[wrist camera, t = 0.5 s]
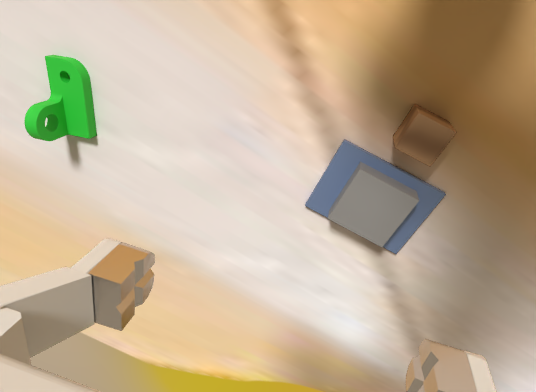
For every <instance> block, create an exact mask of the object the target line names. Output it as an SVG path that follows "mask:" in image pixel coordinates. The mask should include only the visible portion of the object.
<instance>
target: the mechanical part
mask: <svg viewBox="0 0 536 392" xmlns="http://www.w3.org/2000/svg"><path fill="white" fill-rule="evenodd" d="M45 60H46V66H47V71H48V77H49V83H50V89H51V96H50V98H49V100H47V101H44V102H40V103H37V104H34V105H32V106H31V107H30V108H29V109H28V111H27V113H26V116H25V128H26V130H27V132H28V133H29V135H30V136H32V137H33V138H36V139H41V140H46V141H53V140H56V139H58V138H60V137H63V136H65V135H68V134H69V135H74V136H79V137H84V138H89V139H90V138H92V137H94V136H97V134H96V125H95V117H94V108H93V100H92V91H91V82H90V77H89V74H88V72H87V70H86V68H85V67H84V66H83V65H82V64H81V63H80V62H79V61H78V60H76V59H73V58H69V57H63V56H57V55H50V56H45ZM68 74H69V76H70V78H69V76H68ZM46 117H47V118H48V122H47V125H46V127H45V119H46Z"/></svg>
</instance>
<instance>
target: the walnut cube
mask: <svg viewBox="0 0 536 392" xmlns="http://www.w3.org/2000/svg"><path fill="white" fill-rule="evenodd" d="M455 134H456V131H455V130H454V128H453V127H452V125H451V124H450V122H449V121H447V120H445V119H443V118H441V117H439V116H437V115H435V114H434V113H432V112H430V111H428V110H426V109H424V108H422V107H420V106H418V105H416V104H414V106H413V107H412V109H411V110H410V112H409V113H408V115H407V116H406V117H405V119H404V120H403V122H402V123H401V125H400V126H399V128H398V129H397V131H396V132H395V134H394V135H393V140H394V146H395V148H396V149H398V150H400V151H402V152H403V153H405V154H407V155H409V156H411V157H413V158H415V159H417V160H419V161H420V162H422V163H424V164H426V165H428V166H431V165H432V164H433V163H434V161H435V160H436V159H437V157H438V156H439V155H440V153H441V152H442V151H443V150H444V148H445V147H446V146H447V144H448V143H449V142H450V140H451V139H452V138H453V137H454V135H455Z"/></svg>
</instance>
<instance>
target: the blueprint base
mask: <svg viewBox="0 0 536 392" xmlns="http://www.w3.org/2000/svg"><path fill="white" fill-rule="evenodd" d="M445 195H446V194H445V192H443V191H441V190H440V189H438V188H436V187H434V186H432V185H430V184H428V183H426V182H424V181H422V180H421V179H419V178H417V177H415V176H413V175H411V174H409V173H407V172H405V171H404V170H402V169H400V168H398V167H396V166H394V165H392V164H390V163H388V162H387V161H385V160H383V159H381V158H379V157H377V156H375V155H373V154H371V153H369V152H368V151H366V150H364V149H362V148H360V147H358V146H356V145H354V144H352V143H351V142H349V141H347V140H345V139H344V140H343V142H342V144H341V146H340V147H339V149H338V151H337V152H336V154H335V156H334V157H333V159H332V161H331V162H330V164H329V166H328V167H327V169H326V171H325V172H324V174H323V176H322V177H321V179H320V181H319V182H318V184H317V186H316V187H315V189H314V191H313V192H312V194H311V196H310V197H309V199H308V201H307V202H306V204H305V206H306V207H308V208H310V209H312V210H314V211H316V212H318V213H319V214H321V215H323V216H325V217H327V218H328V219H329V220H331V221H333V222H335V223H337V224H339V225H340V226H342V227H344V228H346V229H348V230H350V231H352V232H354V233H355V234H357V235H359V236H361V237H363V238H365V239H367V240H369V241H371V242H372V243H374V244H376V245H378V246H380V247H384V248H385V249H387V250H389V251H391V252H393V253H395V254H397V252H398V251H399V250H400V249H401V248H402V246H403V245H404V244H405V243H406V242H407V240H408V239H409V238H410V237H411V236H412V234H413V233H414V232H415V231H416V230H417V228H418V227H419V226H420V225H421V224H422V222H423V221H424V220H425V219H426V218H427V216H428V215H429V214H430V213H431V212H432V210H433V209H434V208H435V207H436V206H437V204H438V203H439V202H440V201H441V200H442V198H443V197H444V196H445Z"/></svg>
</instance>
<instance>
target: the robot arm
mask: <svg viewBox="0 0 536 392" xmlns="http://www.w3.org/2000/svg"><path fill="white" fill-rule="evenodd" d="M154 263H155V254H153V253H152V252H150V251H147V250H144V249H141V248H138V247H135V246H132V245H130V244H127V243H122V242H120V241H117V240H114V239H111V238H106V239H104V240H102V241H101V242H100V243H99V244H98V245H97V246H95V247H94V248H93V249H92V250H91V251H90V252H88V253H87V254H86V255H85V256H84V257H83V258H81V259H80V260H79V261H78V262H77V263H76V264H74V265H73V266H72V267H71V268H68V267H63V268H60V269H56V270H53V271H49V272H46V273H43V274H39V275H36V276H32V277H29V278H26V279H22V280H19V281H15V282H12V283H9V284H5V285H2V286H0V392H101V391H99V390H96V389H93V388H90V387H88V386H85V385H83V384H80V383H77V382H75V381H72V380H69V379H67V378H64V377H61V376H59V375H56V374H53V373H51V372H48V371H45V370H42V369H40V368H37V367H35V366H32V365H31V360H30V358H31V357H33V356H35V355H37V354H39V353H41V352H42V351H44V350H46V349H48V348H50V347H52V346H54V345H56V344H58V343H60V342H61V341H63V340H65V339H67V338H69V337H71V336H73V335H75V334H77V333H79V332H80V331H82V330H84V329H86V328H88V327H90V326H92V325H94V322H95V323H98V324H101V325H104V326H107V327H110V328H114V329H117V330H120V331H122V330H123V328H124V327H125V326H126V325H127V323H128V322H129V321H130V320H131V318H132V317H133V316H134V313H135V307H136V306H139V305H141V304H143V303H144V301H145V300H146V299H147V297H148V295H149V293H150V291H151V289H152V286H153V282H154V273H153V272H152V270H151V267H152V266H153V265H154ZM406 392H497V391H496V388H495V385H494V382H493V379H492V376H491V373H490V370H489V367H488V365H487V362H486V359H485V358H484V357H483V356H481V355H478V354H475V353H471V352H468V351H465V350H461V349H457V348H454V347H451V346H448V345H444V344H441V343H438V342H435V341H431V340H428V339H425V340H424V341H422V343H421V344H420V346H419V356H417V357H415V358H412V360H411V362H410V364H409V366H408V370H407V374H406Z"/></svg>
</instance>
